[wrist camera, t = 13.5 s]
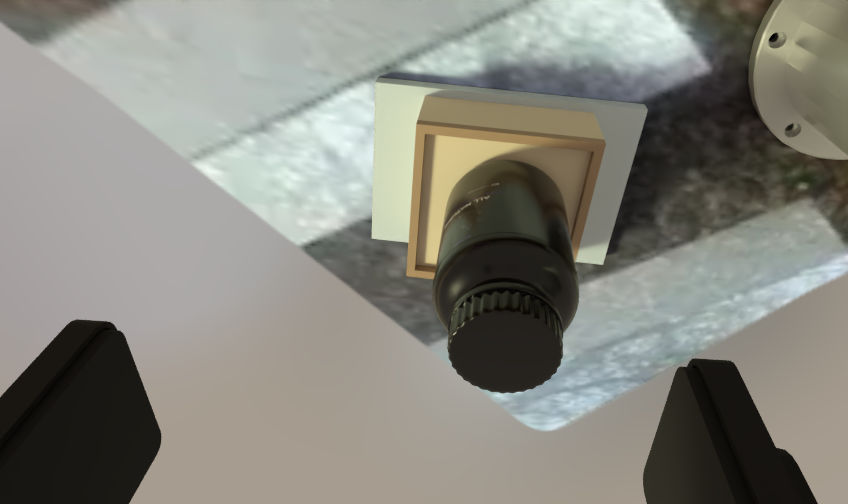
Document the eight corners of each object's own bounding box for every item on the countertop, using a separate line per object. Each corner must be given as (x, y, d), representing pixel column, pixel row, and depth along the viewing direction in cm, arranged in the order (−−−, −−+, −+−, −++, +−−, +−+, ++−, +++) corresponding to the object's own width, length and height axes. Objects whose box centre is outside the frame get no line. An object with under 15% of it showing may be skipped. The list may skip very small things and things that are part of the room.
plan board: (644, 104, 35) (667, 140, 30) (600, 256, 41) (614, 306, 36) (378, 77, 36) (360, 109, 31) (374, 231, 42) (359, 276, 37)
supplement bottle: (461, 142, 32) (445, 269, 22) (581, 172, 32) (619, 310, 22) (433, 244, 36) (409, 391, 26) (541, 270, 36) (558, 425, 26)
